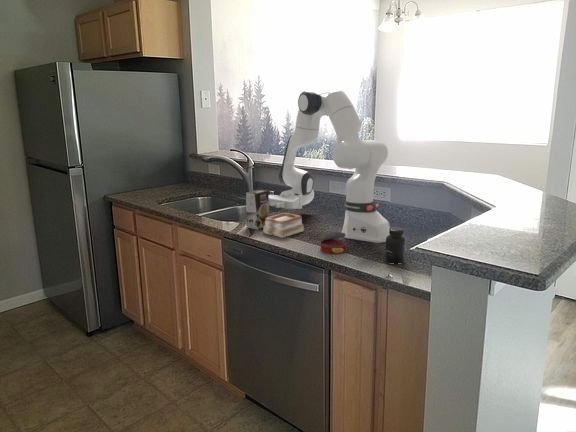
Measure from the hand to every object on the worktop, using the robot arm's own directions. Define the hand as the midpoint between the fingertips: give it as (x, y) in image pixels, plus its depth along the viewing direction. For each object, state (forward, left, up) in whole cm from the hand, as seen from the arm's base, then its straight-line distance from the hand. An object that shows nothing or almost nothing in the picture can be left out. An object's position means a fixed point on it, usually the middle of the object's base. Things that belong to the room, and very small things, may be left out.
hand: (268, 204), depth 210 cm
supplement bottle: (-70, +10, -9) cm, 71 cm away
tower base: (-15, +6, -9) cm, 19 cm away
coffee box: (0, +7, -9) cm, 11 cm away
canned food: (-46, +13, -9) cm, 49 cm away
